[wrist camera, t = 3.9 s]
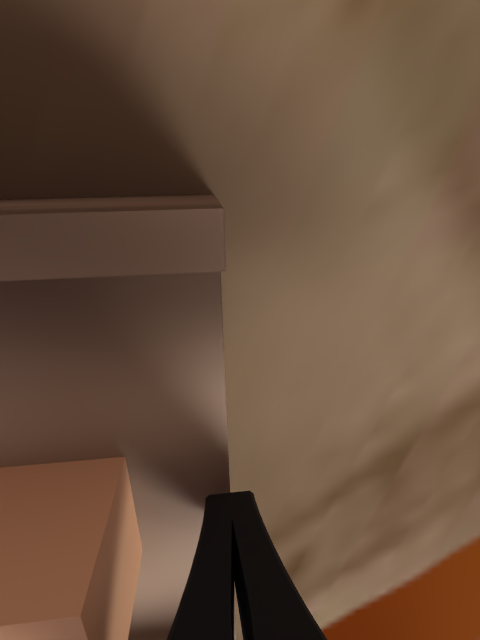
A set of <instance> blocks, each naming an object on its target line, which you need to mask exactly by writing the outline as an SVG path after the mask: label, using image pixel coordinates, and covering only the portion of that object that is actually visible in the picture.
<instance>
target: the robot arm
mask: <svg viewBox="0 0 480 640" xmlns="http://www.w3.org/2000/svg"><path fill="white" fill-rule="evenodd" d="M234 581H235V588H236V594H237V601H238V607H239V614H240V621H241V627H242V634H243V640H327V639H326V637H325V635H324V634H323V632H322V631H321V629H320V628H319V626H318V624H317V623H316V621H315V620H314V618H313V616H312V615H311V613H310V611H309V610H308V608H307V606H306V605H305V603H304V601H303V600H302V598H301V596H300V594H299V593H298V591H297V589H296V587H295V586H294V584H293V582H292V580H291V578H290V576H289V575H288V573H287V571H286V569H285V567H284V565H283V563H282V561H281V559H280V557H279V555H278V553H277V551H276V549H275V547H274V545H273V543H272V541H271V539H270V537H269V534H268V532H267V530H266V527H265V525H264V523H263V520H262V518H261V515H260V513H259V510H258V507H257V504H256V501H255V498H254V494H253V493H252V492H251V491H243V492H233V493H223V494H212V495H208V496H207V497H206V498H205V510H204V517H203V522H202V527H201V532H200V536H199V540H198V545H197V548H196V552H195V555H194V559H193V563H192V566H191V570H190V573H189V577H188V580H187V583H186V586H185V589H184V592H183V595H182V598H181V601H180V604H179V607H178V610H177V613H176V615H175V618H174V621H173V624H172V626H171V629H170V632H169V634H168V637H167V639H166V640H234Z"/></svg>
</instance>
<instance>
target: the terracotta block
mask: <svg viewBox="0 0 480 640" xmlns="http://www.w3.org/2000/svg"><path fill="white" fill-rule="evenodd" d="M142 550H143V549H142V544H141V539H140V533H139V528H138V523H137V517H136V512H135V507H134V501H133V496H132V491H131V485H130V480H129V475H128V469H127V464H126V458H125V457H117V458H105V459H94V460H82V461H70V462H59V463H47V464H36V465H24V466H13V467H1V468H0V640H128V636H129V630H130V624H131V617H132V611H133V605H134V599H135V593H136V587H137V581H138V575H139V569H140V562H141V556H142Z"/></svg>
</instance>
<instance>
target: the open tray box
mask: <svg viewBox="0 0 480 640" xmlns="http://www.w3.org/2000/svg"><path fill="white" fill-rule="evenodd" d="M221 271H226V262H225V235H224V208H223V207H222V205H221V204H220V203H219V201H218V200H217V198H216V197H215V196H214V194H211V195H172V196H134V197H95V198H57V199H19V200H0V468H1V467H13V466H24V465H36V464H47V463H59V462H70V461H82V460H94V459H105V458H117V457H125V458H126V464H127V469H128V475H129V480H130V485H131V491H132V496H133V501H134V507H135V512H136V517H137V523H138V528H139V533H140V539H141V544H142V549H143V550H142V556H141V562H140V569H139V575H138V581H137V587H136V593H135V599H134V605H133V611H132V617H131V624H130V630H129V636H128V640H166V639H167V637H168V634H169V632H170V629H171V626H172V624H173V621H174V618H175V615H176V613H177V610H178V607H179V604H180V601H181V598H182V595H183V592H184V589H185V586H186V583H187V580H188V577H189V573H190V570H191V566H192V563H193V559H194V555H195V552H196V548H197V545H198V540H199V536H200V532H201V527H202V522H203V517H204V510H205V498H206V497H207V496H208V495H212V494H223V493H230V481H229V458H228V435H227V411H226V388H225V365H224V341H223V318H222V295H221ZM234 640H236V621H235V598H234Z"/></svg>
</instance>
